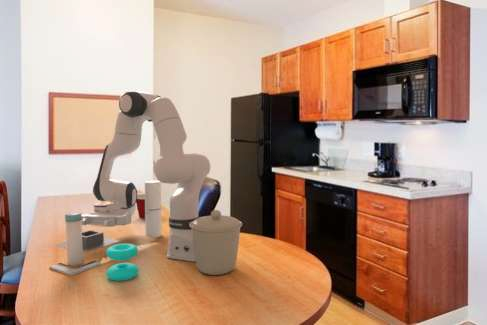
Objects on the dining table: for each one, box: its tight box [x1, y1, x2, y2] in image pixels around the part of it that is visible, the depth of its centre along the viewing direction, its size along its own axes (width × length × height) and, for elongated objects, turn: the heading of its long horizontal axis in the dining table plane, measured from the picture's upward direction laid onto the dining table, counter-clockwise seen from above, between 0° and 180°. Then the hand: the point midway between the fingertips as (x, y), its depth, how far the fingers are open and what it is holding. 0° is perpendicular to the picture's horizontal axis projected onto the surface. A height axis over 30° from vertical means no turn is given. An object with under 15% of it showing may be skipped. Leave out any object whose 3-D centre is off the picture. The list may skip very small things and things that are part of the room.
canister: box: [190, 209, 243, 276], centre depth 128 cm, size 18×18×21 cm
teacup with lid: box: [93, 200, 113, 212], centre depth 196 cm, size 12×9×12 cm
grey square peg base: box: [56, 229, 121, 254], centre depth 153 cm, size 18×18×6 cm
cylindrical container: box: [144, 180, 162, 238], centre depth 169 cm, size 7×7×25 cm
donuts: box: [105, 243, 139, 282], centre depth 122 cm, size 10×10×10 cm
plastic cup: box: [135, 193, 145, 219], centre depth 206 cm, size 11×11×12 cm
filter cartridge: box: [64, 212, 84, 267], centre depth 130 cm, size 5×5×18 cm
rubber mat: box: [48, 260, 102, 276], centre depth 131 cm, size 12×12×1 cm
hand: (94, 223), depth 141 cm, fingers open, 8 cm apart
